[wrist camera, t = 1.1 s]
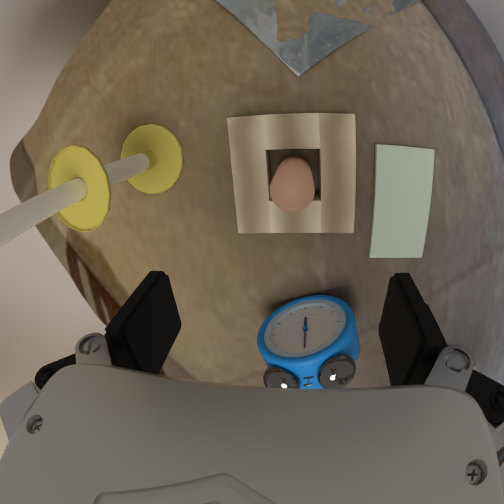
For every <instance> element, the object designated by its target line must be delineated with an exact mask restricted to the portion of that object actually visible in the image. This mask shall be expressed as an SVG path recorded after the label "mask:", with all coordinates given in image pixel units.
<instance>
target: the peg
mask: <svg viewBox="0 0 504 504" xmlns="http://www.w3.org/2000/svg"><path fill="white" fill-rule="evenodd" d="M314 194H315V188H314V182H313V177H312V172H311V167H310V164H309V162H308V161H307V160H306V159H305V158H304V157H302V156H300V155H295V154H293V155H288V156H286V157H285V158H283V159H282V161H281V162H280V164H279V166H278V168H277V170H276V173H275V175H274V177H273V179H272V181H271V184H270V196H271V199H272V200H273V202H274V203H275V205H276V206H277V207H279V208H280V209H282V210H284V211H287V212H298V211H301V210H303V209H305V208H307V207H308V206H309V205H310V204H311V202H312V200H313V198H314Z"/></svg>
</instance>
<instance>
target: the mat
mask: <svg viewBox="0 0 504 504" xmlns="http://www.w3.org/2000/svg"><path fill="white" fill-rule="evenodd" d="M433 167H434V150H433V149H428V148H420V147H410V146H399V145H386V144H375V173H374V197H373V213H372V226H371V237H370V247H369V257H370V258H422V254H423V248H424V243H425V237H426V231H427V224H428V217H429V210H430V202H431V192H432V181H433Z"/></svg>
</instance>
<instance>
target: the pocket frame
mask: <svg viewBox="0 0 504 504" xmlns="http://www.w3.org/2000/svg"><path fill="white" fill-rule="evenodd" d="M227 124H228V134H229V145H230V155H231V165H232V175H233V185H234V195H235V205H236V214H237V224H238V233H353V232H354V215H355V190H356V130H355V114H341V113H292V114H269V115H254V116H242V117H231V118H227ZM276 149H319V188H320V194H314V198H313V200H312V202H311V204H310V205H309V206H308V207H307V208H305V209H303V210H301V211H298V212H287V211H284V210H282V209H280V208H279V207H277V206H276V205H275V203H274V202H273V200H272V199H271V196H270V184H271V177H270V162H269V150H276Z"/></svg>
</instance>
